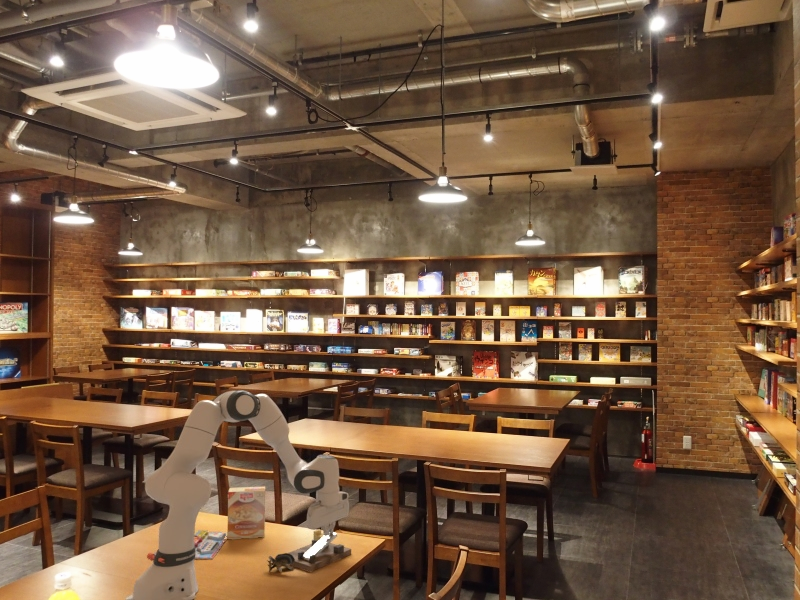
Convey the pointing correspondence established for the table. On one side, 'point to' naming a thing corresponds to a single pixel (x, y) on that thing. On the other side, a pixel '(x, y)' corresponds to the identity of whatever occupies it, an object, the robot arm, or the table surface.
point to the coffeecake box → (246, 512)
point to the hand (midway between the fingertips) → (328, 534)
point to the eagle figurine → (281, 561)
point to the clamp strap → (319, 546)
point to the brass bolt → (318, 535)
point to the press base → (319, 556)
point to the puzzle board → (207, 543)
